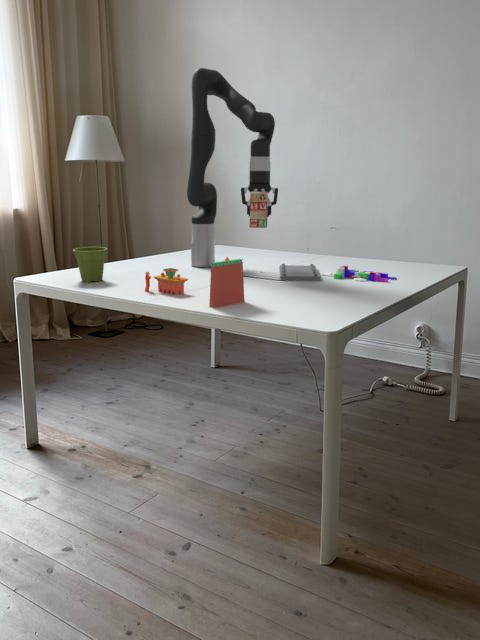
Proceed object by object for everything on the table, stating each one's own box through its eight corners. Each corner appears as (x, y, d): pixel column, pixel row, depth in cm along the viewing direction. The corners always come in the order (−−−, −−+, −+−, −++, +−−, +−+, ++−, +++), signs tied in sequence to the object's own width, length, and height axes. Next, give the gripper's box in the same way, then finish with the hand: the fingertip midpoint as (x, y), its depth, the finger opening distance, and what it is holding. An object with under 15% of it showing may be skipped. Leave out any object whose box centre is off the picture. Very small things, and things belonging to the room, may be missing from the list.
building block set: (404, 277, 233) (405, 265, 232) (380, 286, 218) (381, 273, 217) (344, 271, 248) (344, 259, 247) (317, 278, 232) (318, 266, 231)
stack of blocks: (251, 222, 244) (251, 189, 241) (267, 222, 244) (268, 190, 241) (249, 227, 223) (250, 192, 220) (267, 227, 223) (267, 192, 220)
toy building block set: (214, 308, 180) (213, 259, 177) (140, 292, 204) (138, 248, 201) (244, 302, 189) (244, 255, 185) (170, 287, 213) (169, 245, 209)
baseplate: (280, 280, 224) (280, 273, 224) (279, 269, 250) (279, 263, 249) (320, 280, 224) (320, 274, 223) (314, 269, 249) (315, 263, 248)
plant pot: (80, 277, 230) (78, 246, 227) (112, 277, 229) (111, 246, 226) (70, 283, 218) (68, 250, 215) (103, 283, 217) (102, 251, 215)
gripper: (239, 169, 225) (239, 216, 229) (279, 170, 224) (278, 217, 228) (240, 169, 232) (240, 215, 236) (279, 169, 232) (278, 215, 236)
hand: (259, 216), depth 232 cm, fingers closed on stack of blocks, 6 cm apart
